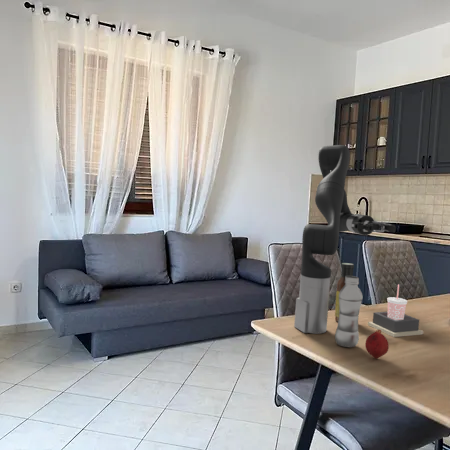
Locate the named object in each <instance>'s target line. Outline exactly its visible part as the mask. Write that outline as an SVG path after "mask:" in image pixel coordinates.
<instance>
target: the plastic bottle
mask: <svg viewBox="0 0 450 450" xmlns="http://www.w3.org/2000/svg"><path fill="white" fill-rule="evenodd" d="M359 279H360V278H359V277H358V276H355V275H353V276H345V283H346V284H345V286H344V287H343V288H342V289H341V291H340V293H339V320H338V322H337V327H336V330H335V334H334V338H335V339H334V341H335V343H336V344H337V345H338V346H340V347H344V348H355V347H356V346H357V345H358V344H359V339H360V338H359V337H360V335H359V334H360V332H359V316H360V310H361V306H362V302H363V293H362V291H361V289H360V288H359V286H358V285H359V284H360V281H359Z"/></svg>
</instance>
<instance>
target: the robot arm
mask: <svg viewBox="0 0 450 450" xmlns="http://www.w3.org/2000/svg"><path fill="white" fill-rule="evenodd" d="M350 157H351V154H350V149H349V147H348V146H347V145H343V144H335V145H334V144H332V145H325V146H321V147H320V148H319V150H318V159H317V160H318V165H319V169H320V172H321V176H322V179H321V181H320V182H319V183H318V184H317V189H316V193H315V197H314V200H315V205H316V207H317V209H318V211H319V212H320V213H321V214H322V216H323V217H324V219H325V220H326V222H327V225H326V224H315V223H313V224H312V223H308V224H306V225H305V226H304V228H303V230H302V239H301V240H302V242H301V243H302V244H301V246H302V247H301V267H300V268H301V269H300V280H299V291H298V293H299V294H298V297H296V299H295V312H294V325H293V326H294V328H295V329H297V330H298V331H301V332H302V333H304V334H308V333H309V334H324V333H326V332H327V330H328V329H327V327H328V318H329V317H328V313H329V304H330V301H329V300H330V290H331V289H330V288H331V277H332V269H331V267H329V266H328V265H325V264H324V263H321V262H320V261H318V260H317V259H316V258H315V257H314V256H313V255H320V256H321V255H322V256H333V255H335V254H336V253H337V250H338V246H339V242H340V241H339V240H340V233H342V232H344V233H345V232H351V233H353V234H357V235H361V236H369V235H371V234H372V233H376V232H377V233H378V232H379V233H384V232H390V233H396V231H397V227H396V225H395V224H393V223H392V224H391V223H386V222H382V221H381V222H380V221H376V220H375V219H374V218H373V217H372V216H370V215H366V214H360V213H359V214H358V213H356V214H355V213H352V211H351V209H350V206H349V204H348V197H347V196H348V195H347V192H346V189H345V185H346V178H347V172H348V171H349V170H348V169H349V164H350V159H351V158H350Z"/></svg>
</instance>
